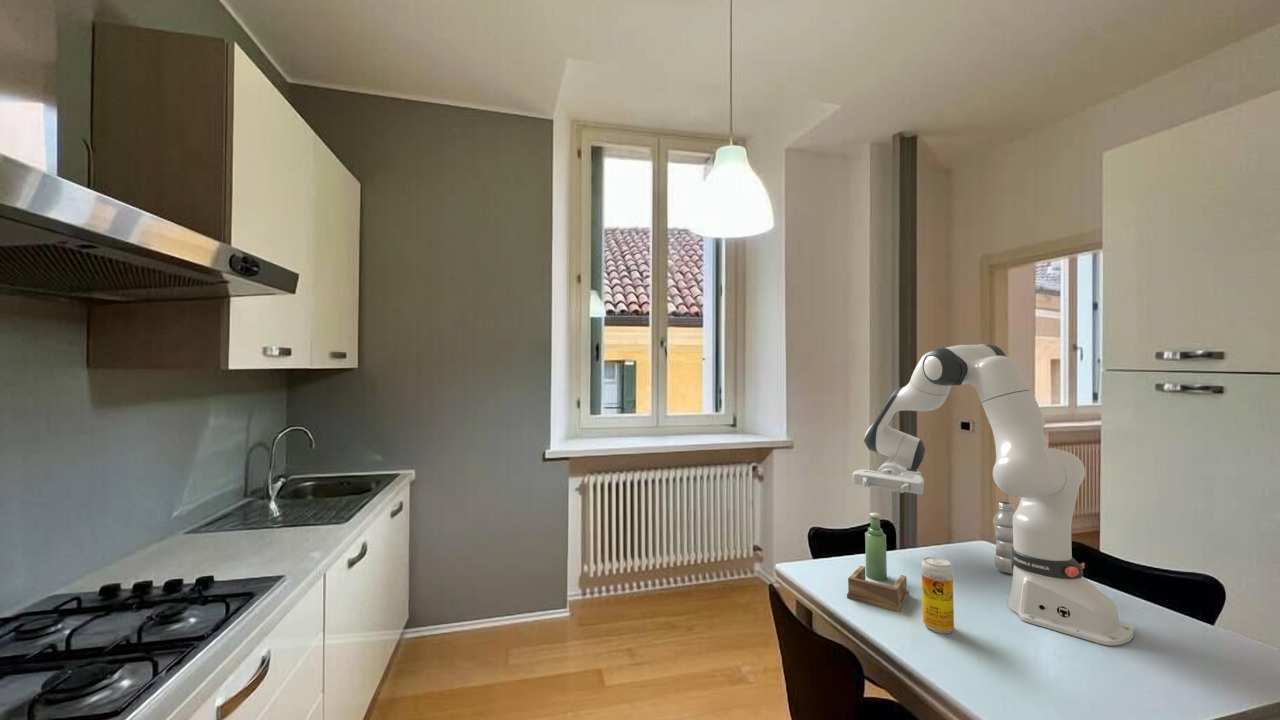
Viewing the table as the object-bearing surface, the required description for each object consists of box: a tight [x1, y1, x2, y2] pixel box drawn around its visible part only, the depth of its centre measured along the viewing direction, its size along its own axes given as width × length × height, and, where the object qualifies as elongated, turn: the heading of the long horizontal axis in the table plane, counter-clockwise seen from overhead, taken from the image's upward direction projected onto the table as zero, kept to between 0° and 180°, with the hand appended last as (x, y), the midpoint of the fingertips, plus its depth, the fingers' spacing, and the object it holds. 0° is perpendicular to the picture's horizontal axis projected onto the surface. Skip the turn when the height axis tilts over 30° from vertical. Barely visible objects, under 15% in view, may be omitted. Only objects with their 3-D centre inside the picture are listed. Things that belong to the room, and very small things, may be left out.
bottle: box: [864, 512, 888, 581], centre depth 142 cm, size 5×5×18 cm
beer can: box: [921, 556, 955, 634], centre depth 114 cm, size 6×6×15 cm
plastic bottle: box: [992, 501, 1016, 575], centre depth 144 cm, size 6×7×20 cm
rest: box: [846, 565, 910, 612], centre depth 130 cm, size 12×12×5 cm
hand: (883, 487), depth 151 cm, fingers open, 8 cm apart
